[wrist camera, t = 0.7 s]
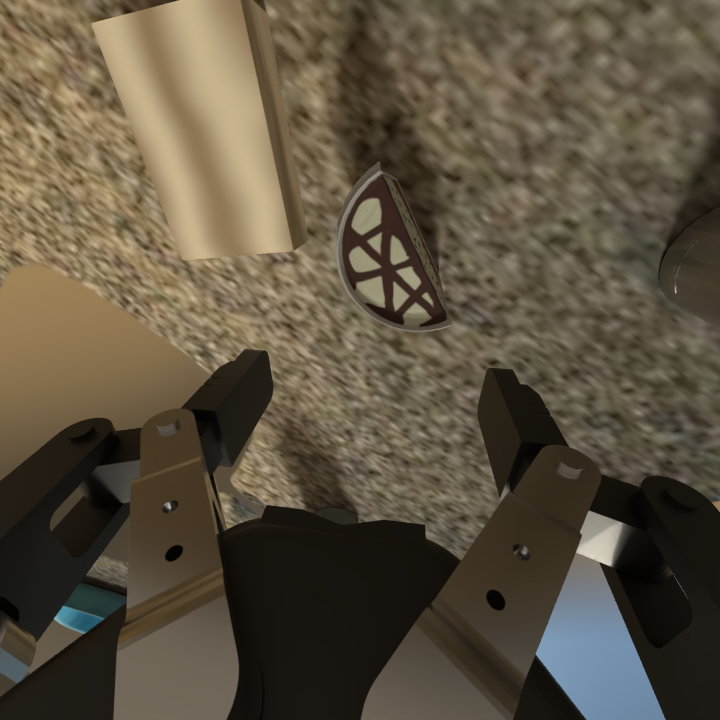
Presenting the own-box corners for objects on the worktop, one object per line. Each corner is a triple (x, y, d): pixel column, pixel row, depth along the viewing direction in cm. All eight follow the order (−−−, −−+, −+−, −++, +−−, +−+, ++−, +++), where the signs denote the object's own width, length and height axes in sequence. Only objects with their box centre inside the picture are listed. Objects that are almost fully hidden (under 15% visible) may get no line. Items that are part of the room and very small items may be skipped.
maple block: (269, 15, 24) (237, -16, 20) (310, 239, 32) (293, 251, 28) (143, 45, 26) (91, 23, 22) (211, 248, 34) (182, 260, 30)
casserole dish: (72, 600, 104) (51, 627, 98) (54, 569, 92) (28, 597, 86) (182, 633, 104) (167, 662, 98) (178, 607, 92) (161, 638, 86)
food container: (329, 199, 30) (293, 214, 21) (389, 160, 27) (375, 160, 19) (389, 311, 35) (380, 360, 26) (445, 287, 32) (453, 331, 24)
